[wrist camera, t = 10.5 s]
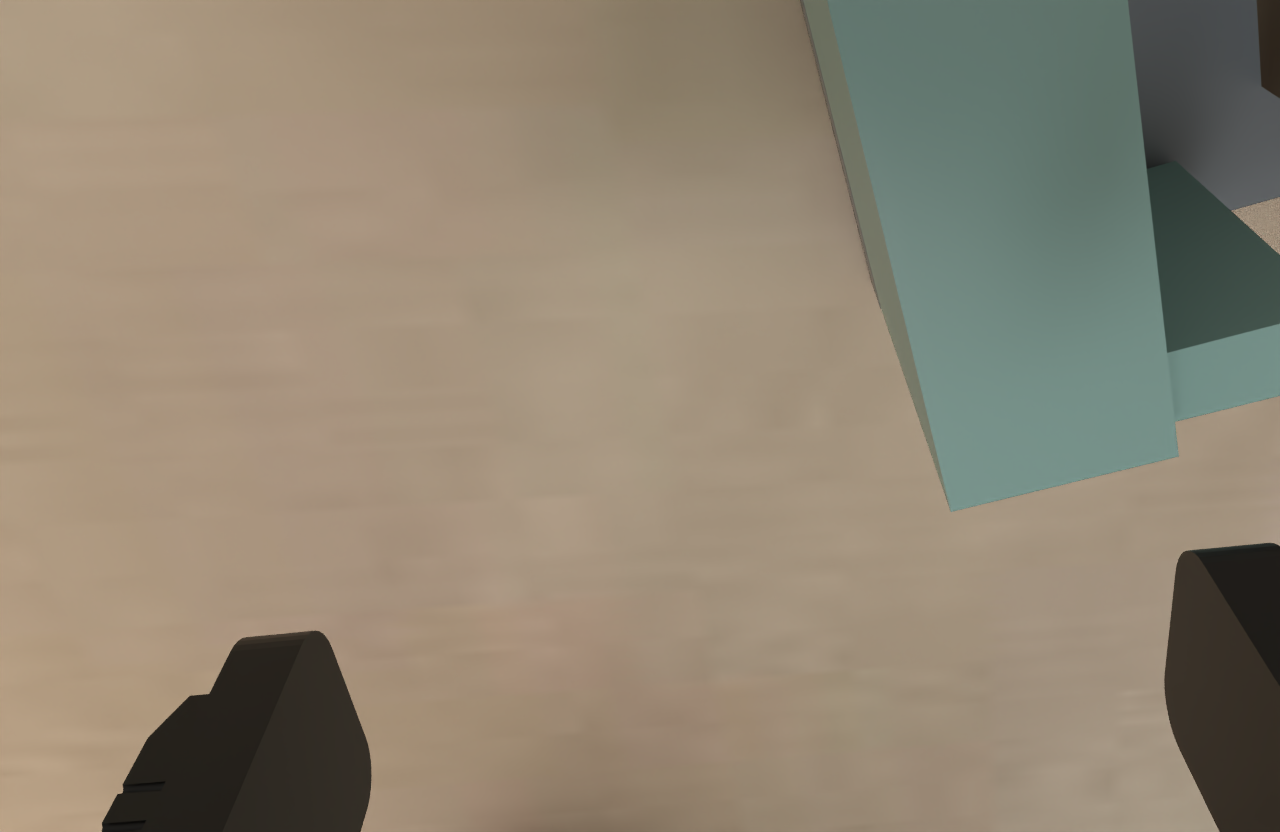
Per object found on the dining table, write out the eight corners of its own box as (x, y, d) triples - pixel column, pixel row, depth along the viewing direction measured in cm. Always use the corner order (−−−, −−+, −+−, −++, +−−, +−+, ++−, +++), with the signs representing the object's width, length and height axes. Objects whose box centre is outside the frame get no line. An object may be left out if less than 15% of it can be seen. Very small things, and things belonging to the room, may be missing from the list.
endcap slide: (1181, 219, 21) (1369, 410, 16) (879, 304, 22) (951, 512, 17) (1137, -222, 18) (1364, -186, 12) (779, -95, 19) (825, -6, 13)
